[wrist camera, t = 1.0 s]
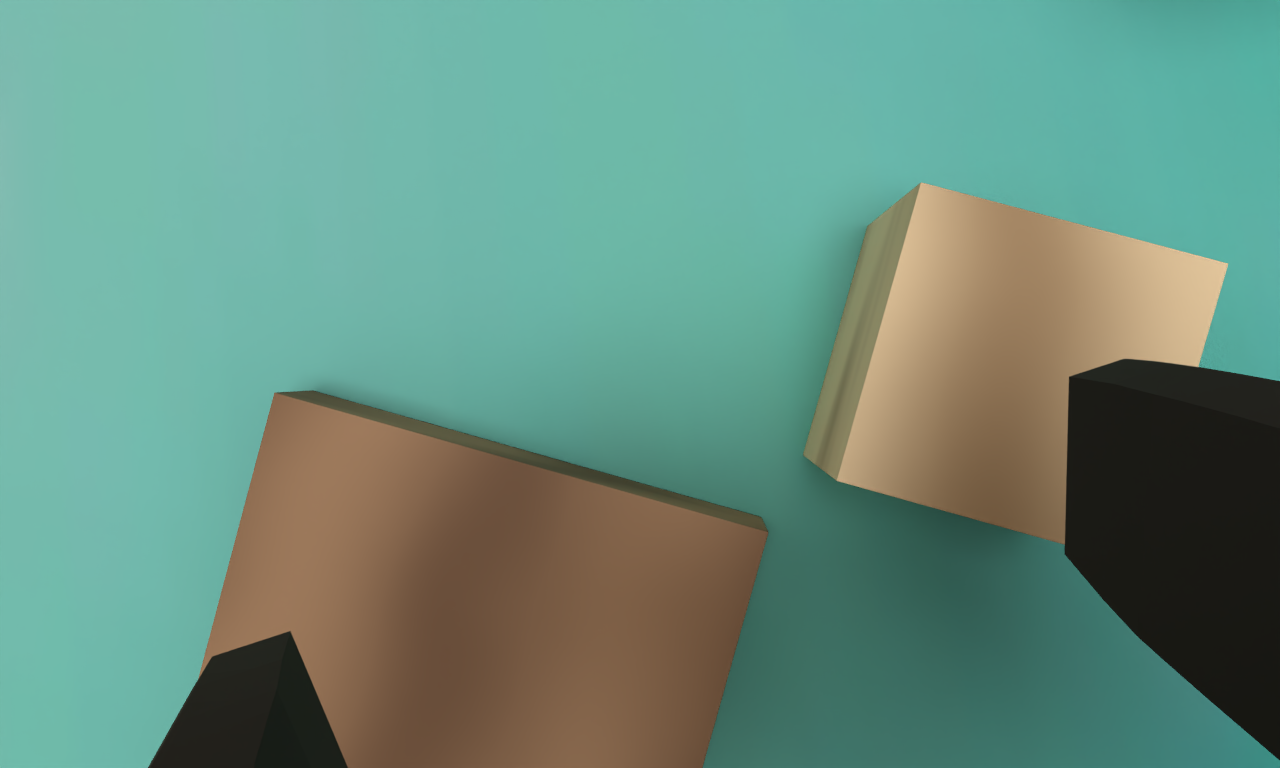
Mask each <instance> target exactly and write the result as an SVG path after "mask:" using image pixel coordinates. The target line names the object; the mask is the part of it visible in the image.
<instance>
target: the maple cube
mask: <svg viewBox="0 0 1280 768" xmlns="http://www.w3.org/2000/svg"><path fill="white" fill-rule="evenodd" d="M1227 266H1228V264H1227V263H1224V262H1220V261H1216V260H1212V259H1209V258H1205V257H1201V256H1197V255H1193V254H1190V253H1186V252H1182V251H1178V250H1175V249H1171V248H1167V247H1163V246H1159V245H1156V244H1152V243H1148V242H1144V241H1141V240H1137V239H1133V238H1129V237H1125V236H1122V235H1118V234H1114V233H1110V232H1107V231H1103V230H1099V229H1095V228H1091V227H1088V226H1084V225H1080V224H1076V223H1073V222H1069V221H1065V220H1061V219H1057V218H1054V217H1050V216H1046V215H1042V214H1039V213H1035V212H1031V211H1027V210H1023V209H1020V208H1016V207H1012V206H1008V205H1005V204H1001V203H997V202H993V201H989V200H986V199H982V198H978V197H974V196H971V195H967V194H963V193H959V192H955V191H952V190H948V189H944V188H940V187H937V186H933V185H929V184H925V183H920V184H919V185H917V186H916V187H915V188H914V189H912V190H911V191H910V192H909V193H907V194H906V195H905V196H904V197H903V198H901V199H900V200H899V201H898V202H896V203H895V204H894V205H893V206H891V207H890V208H889V209H888V210H887V211H885V212H884V213H883V214H882V215H880V216H879V217H878V218H877V219H876V220H874V221H873V222H872V223H871V224H869V225H868V226H867V229H866V233H865V237H864V240H863V244H862V247H861V251H860V254H859V258H858V261H857V265H856V269H855V272H854V276H853V279H852V283H851V286H850V290H849V293H848V297H847V301H846V304H845V308H844V311H843V315H842V318H841V322H840V325H839V329H838V333H837V336H836V340H835V343H834V347H833V350H832V354H831V357H830V361H829V364H828V368H827V372H826V375H825V379H824V382H823V386H822V389H821V393H820V396H819V400H818V404H817V407H816V411H815V414H814V418H813V421H812V425H811V428H810V432H809V436H808V439H807V443H806V446H805V450H804V453H803V455H804V456H805V457H806V458H808V459H809V460H810V461H811V462H813V463H814V464H815V465H817V466H818V467H819V468H821V469H822V470H823V471H825V472H826V473H827V474H829V475H830V476H831V477H832V478H834V479H835V480H836V481H839V482H843V483H846V484H850V485H854V486H857V487H861V488H864V489H868V490H871V491H875V492H879V493H882V494H886V495H889V496H893V497H896V498H900V499H904V500H907V501H911V502H914V503H918V504H922V505H925V506H929V507H932V508H936V509H939V510H943V511H947V512H950V513H954V514H957V515H961V516H964V517H968V518H972V519H975V520H979V521H982V522H986V523H990V524H993V525H997V526H1000V527H1004V528H1007V529H1011V530H1015V531H1018V532H1022V533H1025V534H1029V535H1032V536H1036V537H1040V538H1043V539H1047V540H1050V541H1054V542H1057V543H1061V544H1065V517H1066V475H1067V434H1068V393H1069V376H1072V375H1075V374H1079V373H1082V372H1085V371H1088V370H1091V369H1094V368H1097V367H1100V366H1103V365H1106V364H1109V363H1112V362H1115V361H1118V360H1121V359H1136V360H1148V361H1157V362H1166V363H1174V364H1180V365H1187V366H1194V367H1198V366H1199V362H1200V359H1201V355H1202V352H1203V348H1204V345H1205V342H1206V338H1207V335H1208V331H1209V328H1210V324H1211V321H1212V318H1213V314H1214V311H1215V307H1216V304H1217V300H1218V297H1219V294H1220V290H1221V287H1222V283H1223V280H1224V276H1225V273H1226V270H1227Z"/></svg>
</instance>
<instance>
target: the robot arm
mask: <svg viewBox="0 0 1280 768" xmlns="http://www.w3.org/2000/svg"><path fill="white" fill-rule="evenodd" d="M1065 555H1066V556H1067V557H1068V559H1069V560H1070V561H1071V562H1072V563H1073V565H1074V566H1075V567H1076V568H1077V569H1078V570H1079V572H1080V573H1081V574H1082V575H1083V576H1084V577H1085V579H1086V580H1087V581H1088V582H1089V583H1090V585H1091V586H1092V587H1093V588H1094V589H1095V590H1096V592H1097V593H1098V594H1099V595H1100V596H1101V597H1102V599H1103V600H1104V601H1105V602H1106V603H1107V604H1108V605H1109V606H1110V607H1111V608H1112V609H1113V611H1114V612H1115V613H1116V614H1117V615H1118V616H1119V617H1120V618H1121V619H1122V620H1123V621H1124V622H1125V624H1126V625H1127V626H1128V627H1129V628H1130V629H1131V630H1132V631H1133V632H1134V633H1135V634H1136V635H1137V636H1138V637H1139V638H1140V639H1141V640H1142V641H1143V642H1144V643H1145V644H1146V645H1148V646H1149V647H1150V648H1151V649H1152V650H1153V651H1154V652H1155V653H1156V654H1158V655H1159V656H1160V657H1161V658H1162V659H1163V660H1164V661H1165V662H1167V663H1168V664H1169V665H1170V666H1171V667H1172V668H1173V669H1175V670H1176V671H1177V672H1178V673H1179V674H1180V675H1181V676H1183V677H1184V678H1185V679H1186V680H1187V681H1188V682H1189V683H1191V684H1192V685H1193V686H1194V687H1195V688H1196V689H1197V690H1199V691H1200V692H1201V693H1202V694H1203V695H1204V696H1205V697H1207V698H1208V699H1209V700H1210V701H1211V702H1212V703H1213V704H1215V705H1216V706H1217V707H1218V708H1219V709H1220V710H1222V711H1223V712H1224V713H1225V714H1226V715H1227V716H1229V717H1230V718H1231V719H1232V720H1233V721H1234V722H1236V723H1237V724H1238V725H1239V726H1240V727H1241V728H1243V729H1244V730H1245V731H1246V732H1247V733H1248V734H1250V735H1251V736H1252V737H1253V738H1254V739H1255V740H1257V741H1258V742H1259V743H1260V744H1261V745H1262V746H1264V747H1265V748H1266V749H1267V750H1268V751H1269V752H1271V753H1272V754H1273V755H1274V756H1275V757H1276V758H1278V759H1279V760H1280V381H1275V380H1270V379H1264V378H1259V377H1253V376H1248V375H1242V374H1236V373H1231V372H1225V371H1219V370H1213V369H1207V368H1200V367H1194V366H1187V365H1180V364H1174V363H1166V362H1157V361H1148V360H1136V359H1121V360H1118V361H1115V362H1112V363H1109V364H1106V365H1103V366H1100V367H1097V368H1094V369H1091V370H1088V371H1085V372H1082V373H1079V374H1075V375H1072V376H1069V393H1068V434H1067V475H1066V517H1065ZM148 768H348V767H347V764H346V762H345V759H344V757H343V755H342V752H341V750H340V748H339V745H338V743H337V740H336V738H335V736H334V733H333V731H332V729H331V726H330V724H329V721H328V719H327V717H326V714H325V712H324V710H323V707H322V705H321V702H320V700H319V698H318V695H317V693H316V690H315V688H314V686H313V683H312V681H311V679H310V676H309V674H308V671H307V669H306V667H305V664H304V662H303V660H302V657H301V655H300V652H299V650H298V648H297V645H296V643H295V641H294V638H293V636H292V633H291V631H288V632H285V633H282V634H279V635H276V636H273V637H270V638H267V639H264V640H261V641H258V642H255V643H252V644H249V645H246V646H243V647H239V648H236V649H233V650H230V651H227V652H224V653H221V654H218V655H215V656H212V657H211V659H210V661H209V662H208V664H207V666H206V667H205V669H204V671H203V672H202V674H201V676H200V677H199V679H198V681H197V682H196V684H195V686H194V687H193V689H192V691H191V692H190V694H189V696H188V698H187V699H186V701H185V703H184V705H183V707H182V708H181V710H180V712H179V714H178V715H177V717H176V719H175V721H174V723H173V724H172V726H171V728H170V730H169V731H168V733H167V735H166V737H165V739H164V740H163V742H162V744H161V746H160V748H159V749H158V751H157V753H156V755H155V756H154V758H153V760H152V762H151V763H150V765H149V767H148Z"/></svg>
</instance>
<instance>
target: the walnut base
mask: <svg viewBox="0 0 1280 768" xmlns="http://www.w3.org/2000/svg"><path fill="white" fill-rule="evenodd" d="M767 536H768V530H767V528H766V526H765V524H764V522H763V520H762V518H761V517H759V516H756V515H752V514H748V513H745V512H741V511H738V510H734V509H731V508H727V507H724V506H720V505H717V504H713V503H709V502H706V501H702V500H699V499H695V498H692V497H688V496H685V495H681V494H678V493H674V492H670V491H667V490H663V489H660V488H656V487H653V486H649V485H646V484H642V483H639V482H635V481H631V480H628V479H624V478H621V477H617V476H614V475H610V474H607V473H603V472H600V471H596V470H592V469H589V468H585V467H582V466H578V465H575V464H571V463H568V462H564V461H561V460H557V459H554V458H550V457H546V456H543V455H539V454H536V453H532V452H529V451H525V450H522V449H518V448H515V447H511V446H507V445H504V444H500V443H497V442H493V441H490V440H486V439H483V438H479V437H476V436H472V435H468V434H465V433H461V432H458V431H454V430H451V429H447V428H444V427H440V426H437V425H433V424H429V423H426V422H422V421H419V420H415V419H412V418H408V417H405V416H401V415H398V414H394V413H390V412H387V411H383V410H380V409H376V408H373V407H369V406H366V405H362V404H359V403H355V402H352V401H348V400H344V399H341V398H337V397H334V396H330V395H327V394H323V393H320V392H316V391H297V392H279V393H274V397H273V400H272V404H271V408H270V412H269V415H268V419H267V423H266V427H265V431H264V434H263V438H262V442H261V446H260V449H259V453H258V457H257V461H256V464H255V468H254V472H253V476H252V479H251V483H250V487H249V491H248V494H247V498H246V502H245V506H244V509H243V513H242V517H241V521H240V525H239V528H238V532H237V536H236V540H235V543H234V547H233V551H232V555H231V558H230V562H229V566H228V570H227V573H226V577H225V581H224V585H223V588H222V592H221V596H220V600H219V603H218V607H217V611H216V615H215V619H214V622H213V626H212V630H211V634H210V637H209V641H208V645H207V649H206V652H205V656H204V660H203V664H202V667H201V671H200V675H199V677H200V676H201V674H202V672H203V671H204V669H205V667H206V666H207V664H208V662H209V661H210V659H211V657H212V656H215V655H218V654H221V653H224V652H227V651H230V650H233V649H236V648H239V647H243V646H246V645H249V644H252V643H255V642H258V641H261V640H264V639H267V638H270V637H273V636H276V635H279V634H282V633H285V632H288V631H291V633H292V636H293V638H294V641H295V643H296V645H297V648H298V650H299V652H300V655H301V657H302V660H303V662H304V664H305V667H306V669H307V671H308V674H309V676H310V679H311V681H312V683H313V686H314V688H315V690H316V693H317V695H318V698H319V700H320V702H321V705H322V707H323V710H324V712H325V714H326V717H327V719H328V721H329V724H330V726H331V729H332V731H333V733H334V736H335V738H336V740H337V743H338V745H339V748H340V750H341V752H342V755H343V757H344V759H345V762H346V764H347V767H348V768H702V767H703V763H704V760H705V756H706V753H707V749H708V746H709V742H710V739H711V735H712V731H713V728H714V724H715V721H716V717H717V714H718V710H719V707H720V703H721V699H722V696H723V692H724V689H725V685H726V682H727V678H728V675H729V671H730V667H731V664H732V660H733V657H734V653H735V650H736V646H737V642H738V639H739V635H740V632H741V628H742V625H743V621H744V618H745V614H746V610H747V607H748V603H749V600H750V596H751V593H752V589H753V586H754V582H755V578H756V575H757V571H758V568H759V564H760V561H761V557H762V554H763V550H764V546H765V543H766V539H767Z"/></svg>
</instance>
